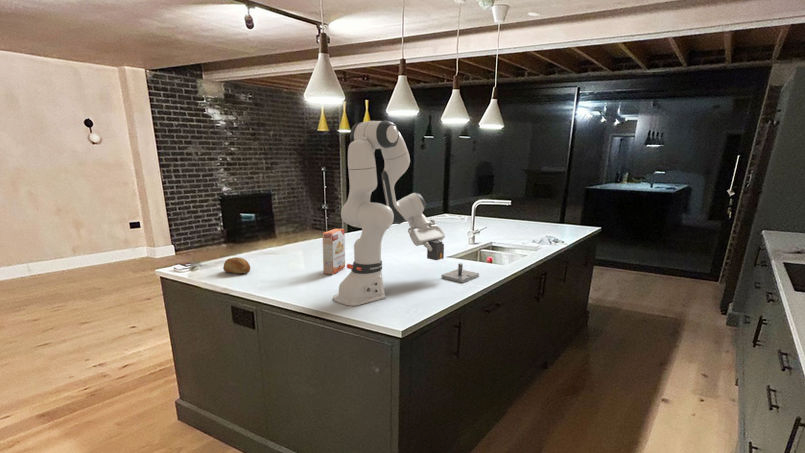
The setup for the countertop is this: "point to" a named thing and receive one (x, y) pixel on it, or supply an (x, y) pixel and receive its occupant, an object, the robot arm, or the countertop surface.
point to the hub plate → (460, 275)
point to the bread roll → (236, 265)
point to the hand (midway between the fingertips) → (436, 249)
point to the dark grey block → (436, 250)
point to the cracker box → (333, 251)
